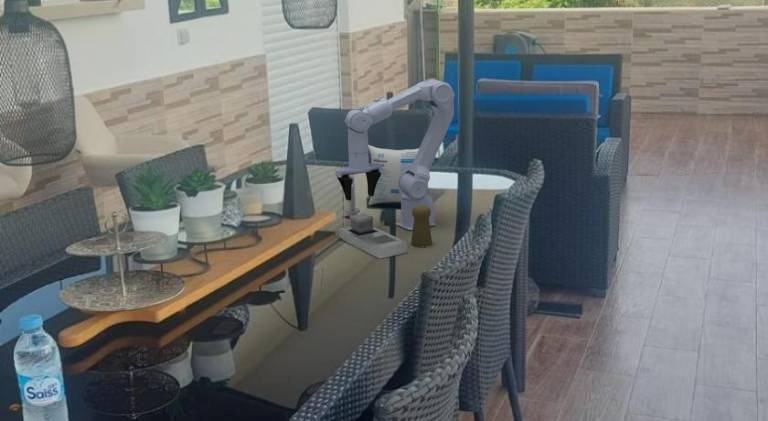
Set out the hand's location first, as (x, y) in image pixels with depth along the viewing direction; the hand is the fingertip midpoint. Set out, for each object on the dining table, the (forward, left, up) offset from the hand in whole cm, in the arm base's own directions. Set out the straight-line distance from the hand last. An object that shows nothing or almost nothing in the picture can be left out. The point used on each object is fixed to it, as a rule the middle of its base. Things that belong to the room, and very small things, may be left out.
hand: (359, 197), depth 265 cm
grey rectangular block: (+4, +8, -10) cm, 14 cm away
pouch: (-24, -17, -11) cm, 31 cm away
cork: (-8, +20, -11) cm, 24 cm away
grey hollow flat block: (+4, +13, -10) cm, 17 cm away
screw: (-6, -15, -11) cm, 19 cm away
